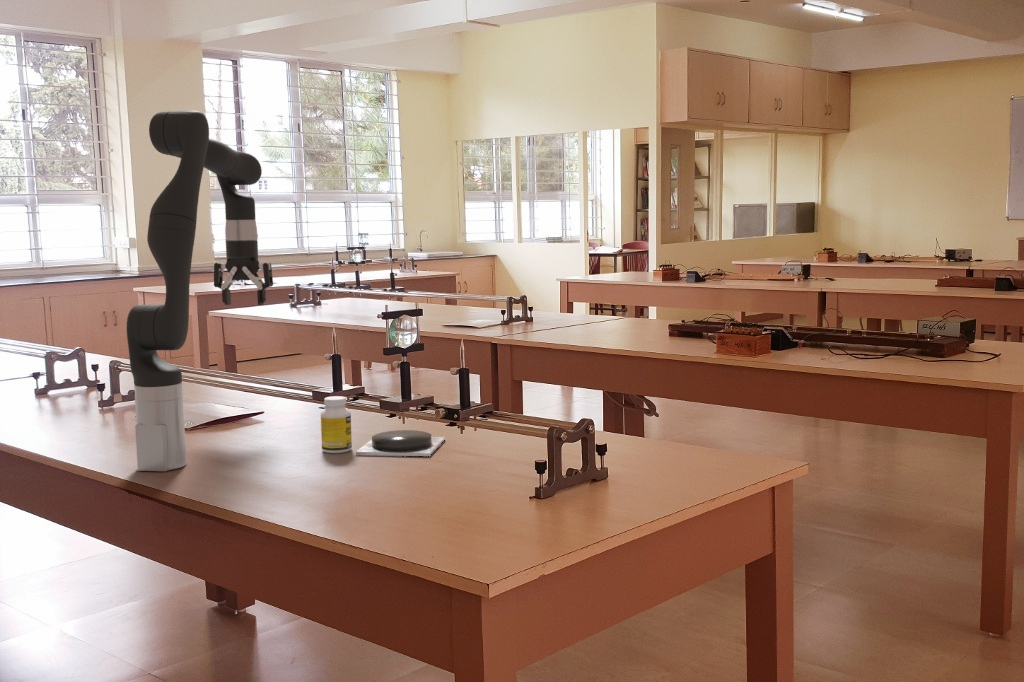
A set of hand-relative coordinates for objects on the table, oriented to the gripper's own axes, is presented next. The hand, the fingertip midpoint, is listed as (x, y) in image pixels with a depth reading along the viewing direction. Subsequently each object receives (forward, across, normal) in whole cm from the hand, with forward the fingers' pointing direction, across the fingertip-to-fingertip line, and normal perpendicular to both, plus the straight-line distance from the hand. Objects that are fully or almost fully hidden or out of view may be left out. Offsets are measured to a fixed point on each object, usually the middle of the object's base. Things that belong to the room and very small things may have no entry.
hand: (244, 304), depth 245 cm
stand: (+29, +45, -24) cm, 59 cm away
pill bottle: (+30, +32, -28) cm, 51 cm away
